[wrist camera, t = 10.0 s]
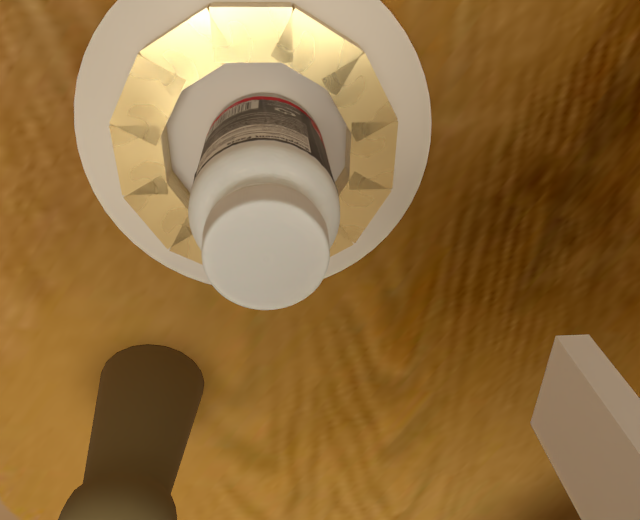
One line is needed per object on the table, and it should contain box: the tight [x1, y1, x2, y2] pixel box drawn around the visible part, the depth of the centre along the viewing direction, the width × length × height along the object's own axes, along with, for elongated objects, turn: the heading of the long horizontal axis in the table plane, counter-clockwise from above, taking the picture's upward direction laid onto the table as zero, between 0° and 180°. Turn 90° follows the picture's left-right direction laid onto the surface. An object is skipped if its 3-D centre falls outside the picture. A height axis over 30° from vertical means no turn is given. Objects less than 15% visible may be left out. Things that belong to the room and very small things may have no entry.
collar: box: [109, 2, 398, 265], centre depth 24 cm, size 12×12×2 cm
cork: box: [58, 345, 204, 520], centre depth 28 cm, size 6×6×11 cm
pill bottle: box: [188, 93, 340, 310], centre depth 21 cm, size 5×5×10 cm
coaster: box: [74, 0, 432, 285], centre depth 25 cm, size 16×16×1 cm
